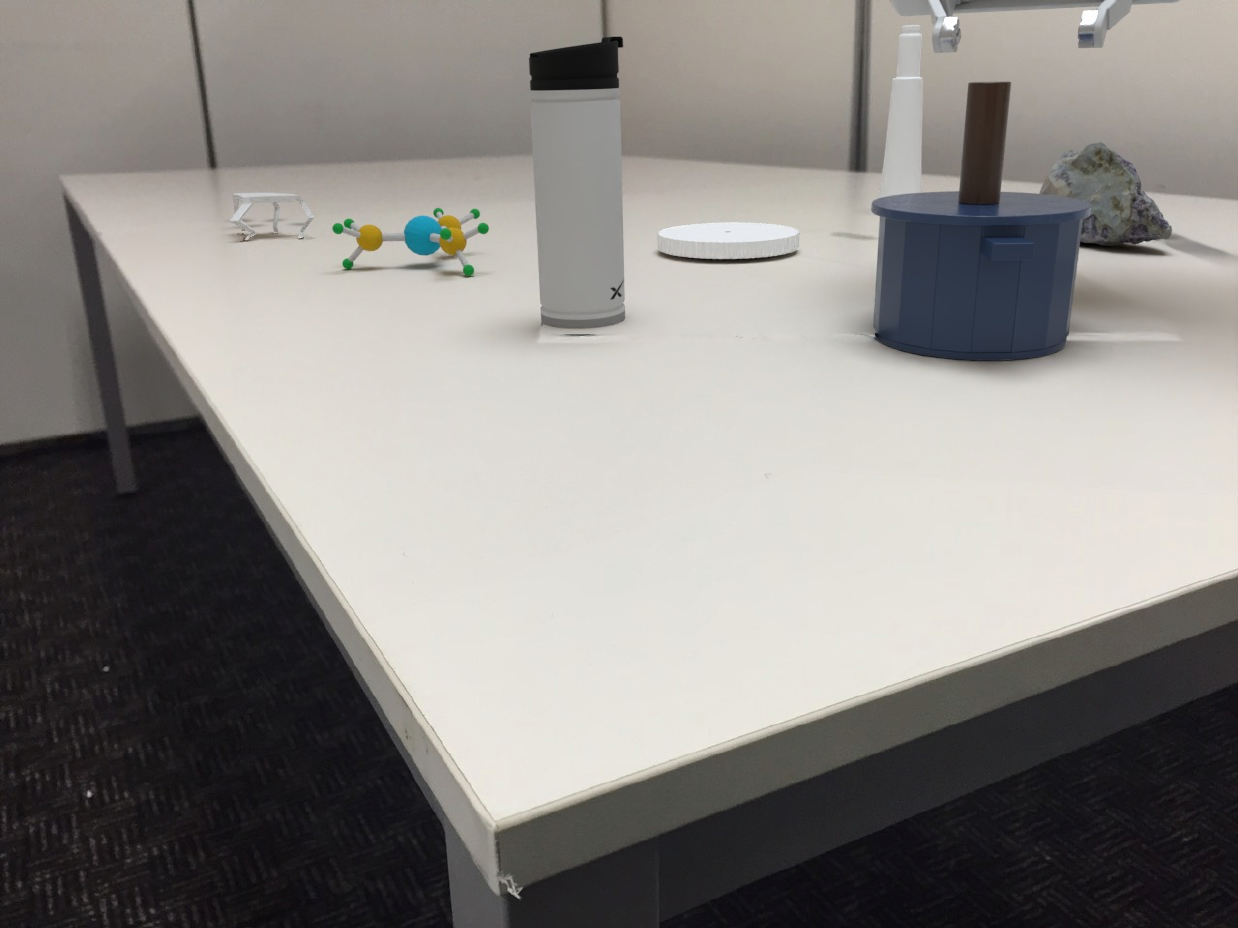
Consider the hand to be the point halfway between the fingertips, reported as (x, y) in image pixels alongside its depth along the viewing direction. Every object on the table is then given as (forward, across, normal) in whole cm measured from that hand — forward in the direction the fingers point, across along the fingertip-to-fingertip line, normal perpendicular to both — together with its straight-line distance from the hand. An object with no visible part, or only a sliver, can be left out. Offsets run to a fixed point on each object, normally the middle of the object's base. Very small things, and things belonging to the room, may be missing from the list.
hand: (1014, 43), depth 72 cm
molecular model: (+12, -54, +15) cm, 57 cm away
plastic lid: (+1, -29, +26) cm, 39 cm away
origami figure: (+6, -86, +21) cm, 88 cm away
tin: (+17, 0, +9) cm, 20 cm away
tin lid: (+11, 0, +3) cm, 12 cm away
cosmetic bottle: (-26, -24, +53) cm, 64 cm away
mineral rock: (-14, +2, +41) cm, 43 cm away
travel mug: (+23, -26, +4) cm, 35 cm away
